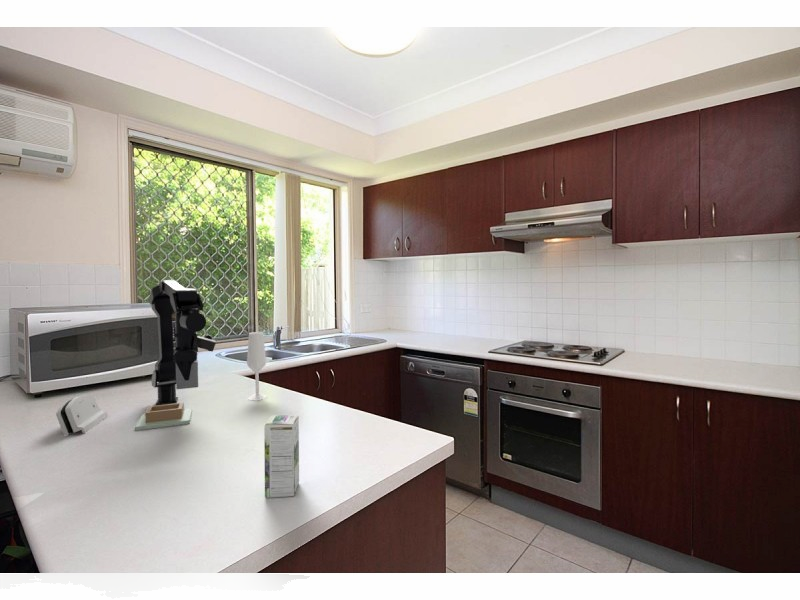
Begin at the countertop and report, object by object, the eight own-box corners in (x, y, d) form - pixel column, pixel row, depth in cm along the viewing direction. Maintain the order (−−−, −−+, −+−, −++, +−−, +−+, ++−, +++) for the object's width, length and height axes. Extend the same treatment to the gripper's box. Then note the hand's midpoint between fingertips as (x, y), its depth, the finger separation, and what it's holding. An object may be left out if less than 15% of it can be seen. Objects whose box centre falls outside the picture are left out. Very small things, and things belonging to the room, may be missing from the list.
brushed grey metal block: (177, 386, 130) (176, 361, 130) (198, 384, 133) (197, 359, 133) (176, 389, 127) (175, 363, 126) (198, 387, 129) (197, 361, 129)
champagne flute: (247, 396, 154) (245, 332, 153) (265, 394, 156) (264, 331, 156) (248, 401, 148) (246, 334, 147) (268, 399, 150) (266, 333, 149)
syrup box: (271, 484, 85) (269, 414, 85) (300, 483, 86) (298, 413, 85) (264, 498, 80) (262, 424, 79) (295, 497, 80) (294, 423, 80)
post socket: (142, 417, 131) (142, 404, 131) (192, 411, 136) (191, 399, 136) (135, 430, 119) (134, 416, 119) (189, 423, 124) (189, 410, 124)
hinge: (85, 434, 116) (69, 402, 115) (66, 441, 115) (50, 409, 114) (108, 416, 133) (95, 387, 131) (92, 422, 131) (78, 394, 130)
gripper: (214, 331, 124) (216, 382, 125) (213, 325, 141) (214, 370, 142) (172, 333, 119) (173, 386, 120) (176, 326, 136) (178, 373, 137)
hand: (187, 378), depth 130 cm, fingers closed on brushed grey metal block, 4 cm apart
